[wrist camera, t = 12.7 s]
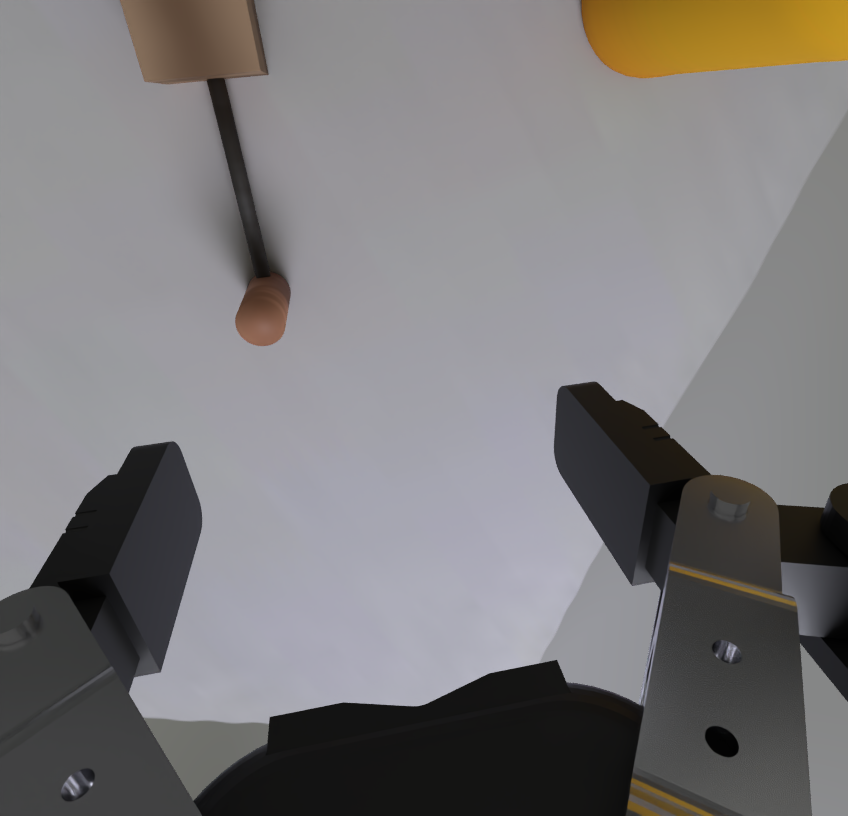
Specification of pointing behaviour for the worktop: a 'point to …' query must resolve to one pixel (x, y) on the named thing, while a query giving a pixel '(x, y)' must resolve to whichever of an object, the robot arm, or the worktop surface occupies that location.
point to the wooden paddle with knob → (214, 62)
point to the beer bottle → (713, 34)
